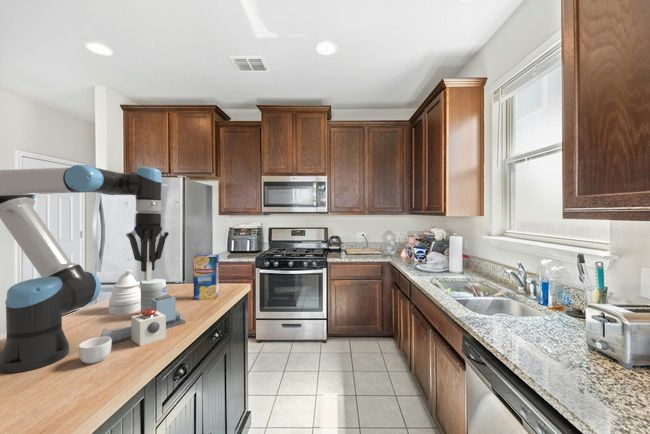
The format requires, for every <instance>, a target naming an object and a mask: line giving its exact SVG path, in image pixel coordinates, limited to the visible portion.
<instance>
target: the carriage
mask: <svg viewBox="0 0 650 434" xmlns="http://www.w3.org/2000/svg"><path fill="white" fill-rule="evenodd" d="M176 302H177V301H176V296H172V295H170V294H166V296H161V297H156V298H155V299H152V309H156V311H158V312H160V313H162V314H164V315H166V322H167V321H170V320H174V319H176Z"/></svg>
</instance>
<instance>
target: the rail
mask: <svg viewBox="0 0 650 434" xmlns="http://www.w3.org/2000/svg"><path fill="white" fill-rule="evenodd" d="M185 323H186V320H185V319H184V314H183V313H181V312H179V311H176V319H174V320H170V321H167V322H166V329H169V328H172V327H176V326H180V325H184V324H185ZM100 337H110V338H111V339H112V344H111V345H113V344H114V345H115V344H118V343H120V342H125V341H127V340H131V323H129V324H127V325H122V326H119V327H115V328H110V329H107V328H103V329H101V333H100Z"/></svg>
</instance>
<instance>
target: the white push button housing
mask: <svg viewBox="0 0 650 434" xmlns="http://www.w3.org/2000/svg"><path fill="white" fill-rule="evenodd" d="M130 319H131V322H130V324H131V339H130V340H131V341H132V342H134V343H135V344H137V345H138V346H139V347H143V346H145V345H148V344H152V343H156V342H159V341H162V340H164V339H167V328H166V315H164V314H162V313H160V312H158V311H156V313H154V317H152V318H148V319H144V320H143V315H142V314H141V313H140V314H138V315H137V314H136V315H133V316H132V315H131V318H130Z"/></svg>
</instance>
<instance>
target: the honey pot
mask: <svg viewBox="0 0 650 434" xmlns="http://www.w3.org/2000/svg"><path fill="white" fill-rule="evenodd" d="M132 272H133V270H132V269H127V270H125V273H123V274H122V275H121V276H120V277H119V278H118V280H117V282H116V283H114V285H113V289H112V291H111V295H110V298H109V299H108V313H109V314H111V315H125V314H130V313H131V314H132V313H135V312H138V311H141V287H140V286H139V285H141V282H140V281H137V280H136V278H135V277H134V276H133V275H132Z"/></svg>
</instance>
